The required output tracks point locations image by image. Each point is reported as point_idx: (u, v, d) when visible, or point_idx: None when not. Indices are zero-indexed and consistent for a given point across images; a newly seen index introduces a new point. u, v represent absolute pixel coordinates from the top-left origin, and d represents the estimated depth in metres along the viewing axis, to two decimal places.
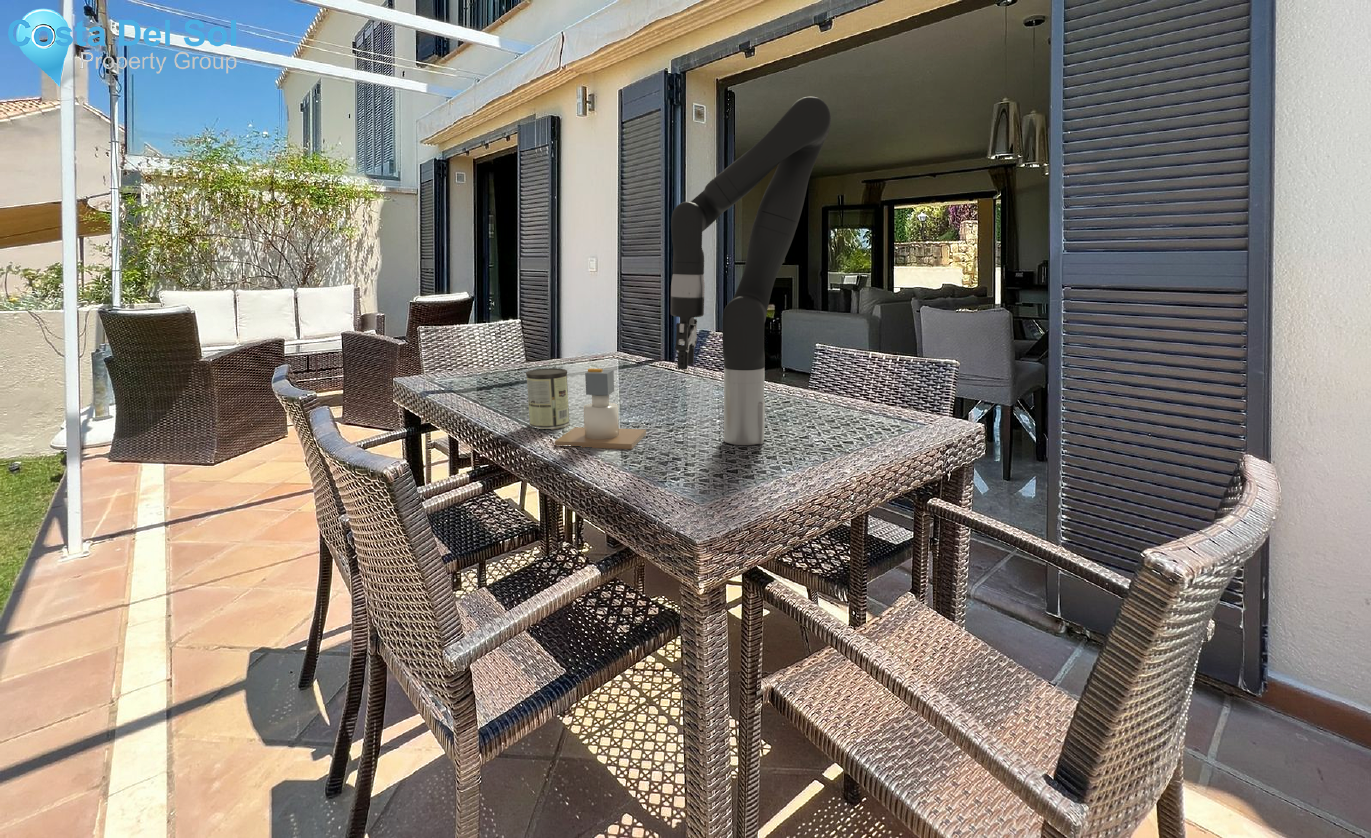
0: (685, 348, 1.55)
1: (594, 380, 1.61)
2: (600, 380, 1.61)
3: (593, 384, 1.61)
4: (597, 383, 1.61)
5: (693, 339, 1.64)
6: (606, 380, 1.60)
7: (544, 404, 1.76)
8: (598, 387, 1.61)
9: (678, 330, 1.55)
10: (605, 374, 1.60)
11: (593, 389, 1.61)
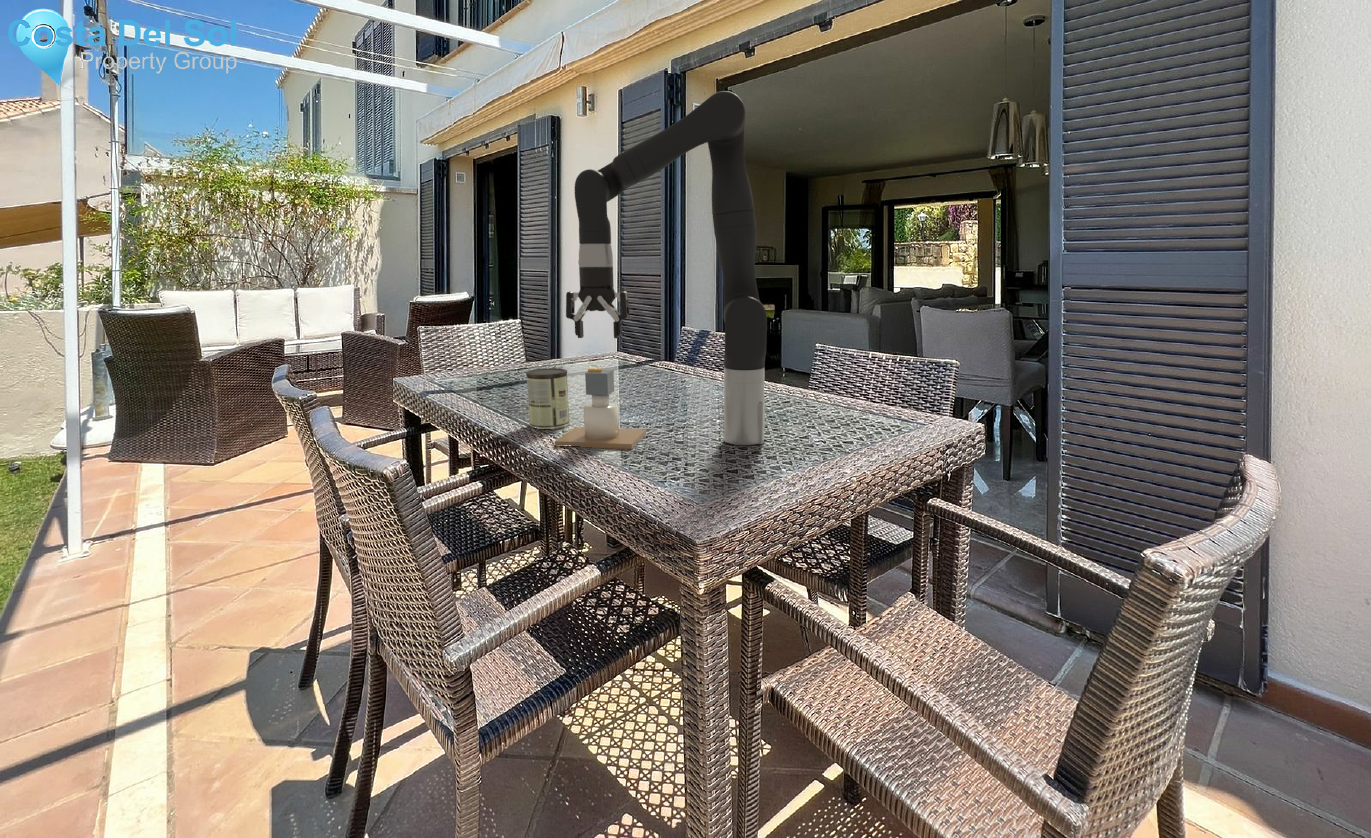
0: (629, 315, 1.60)
1: (594, 380, 1.61)
2: (600, 380, 1.61)
3: (593, 384, 1.61)
4: (597, 383, 1.61)
5: (587, 311, 1.62)
6: (606, 380, 1.60)
7: (544, 404, 1.76)
8: (598, 387, 1.61)
9: (625, 298, 1.57)
10: (605, 374, 1.60)
11: (593, 389, 1.61)
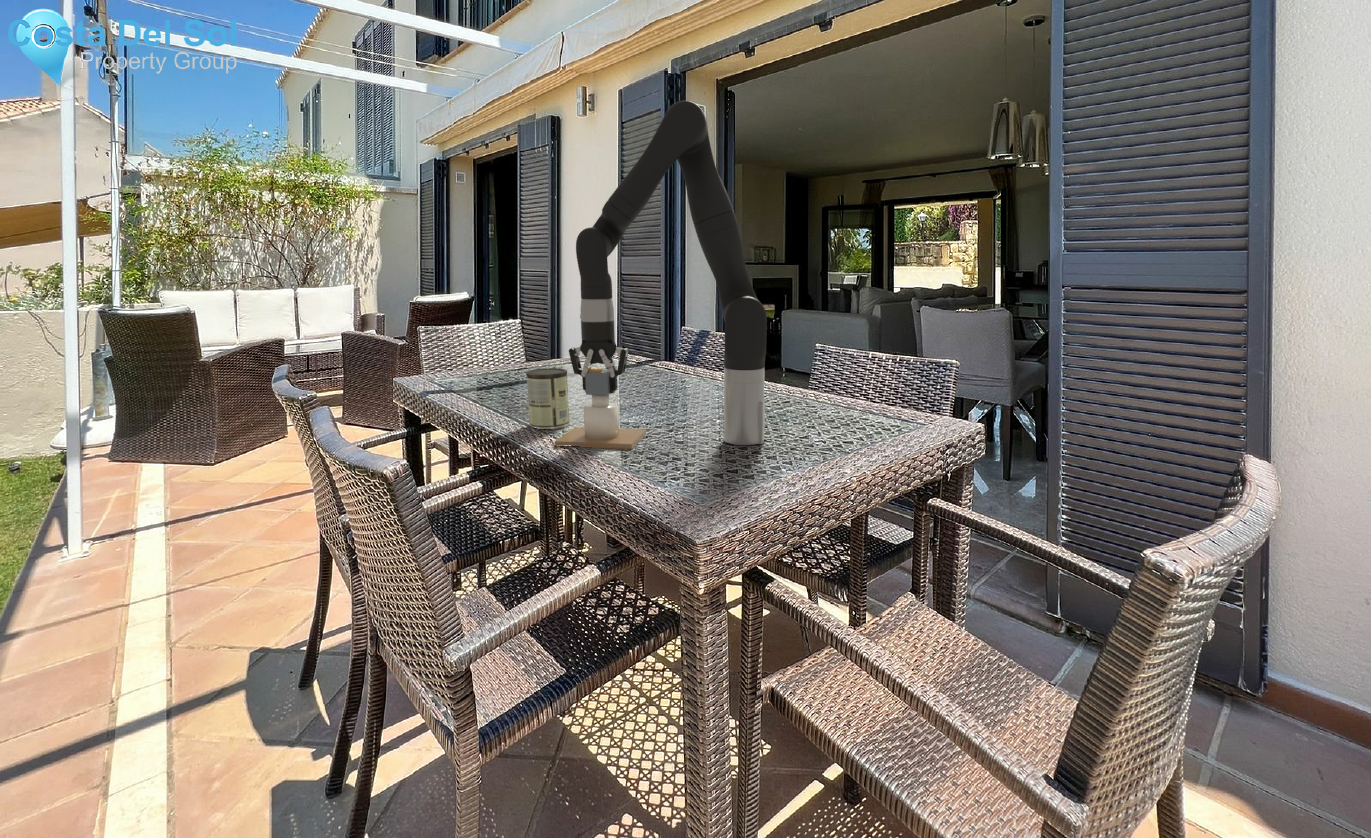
0: (624, 370, 1.63)
1: (594, 380, 1.61)
2: (600, 380, 1.61)
3: (593, 384, 1.61)
4: (597, 383, 1.61)
5: (592, 364, 1.64)
6: (606, 380, 1.60)
7: (544, 404, 1.76)
8: (598, 387, 1.61)
9: (625, 356, 1.60)
10: (605, 374, 1.60)
11: (593, 389, 1.61)
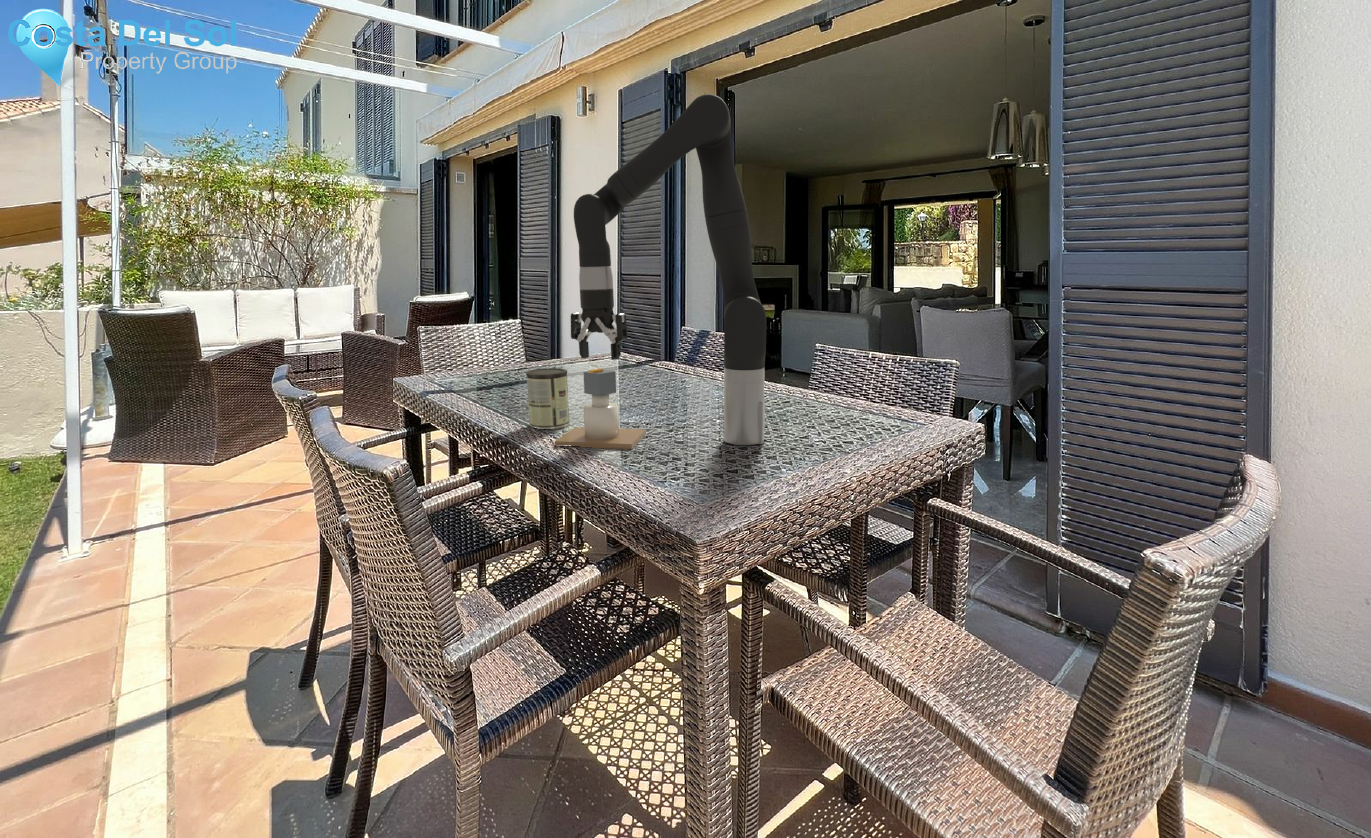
0: (627, 337, 1.60)
1: (605, 380, 1.61)
2: (610, 379, 1.62)
3: (605, 384, 1.61)
4: (608, 382, 1.62)
5: (591, 332, 1.64)
6: (614, 378, 1.63)
7: (544, 404, 1.76)
8: (609, 386, 1.62)
9: (621, 320, 1.58)
10: (614, 372, 1.63)
11: (605, 388, 1.62)
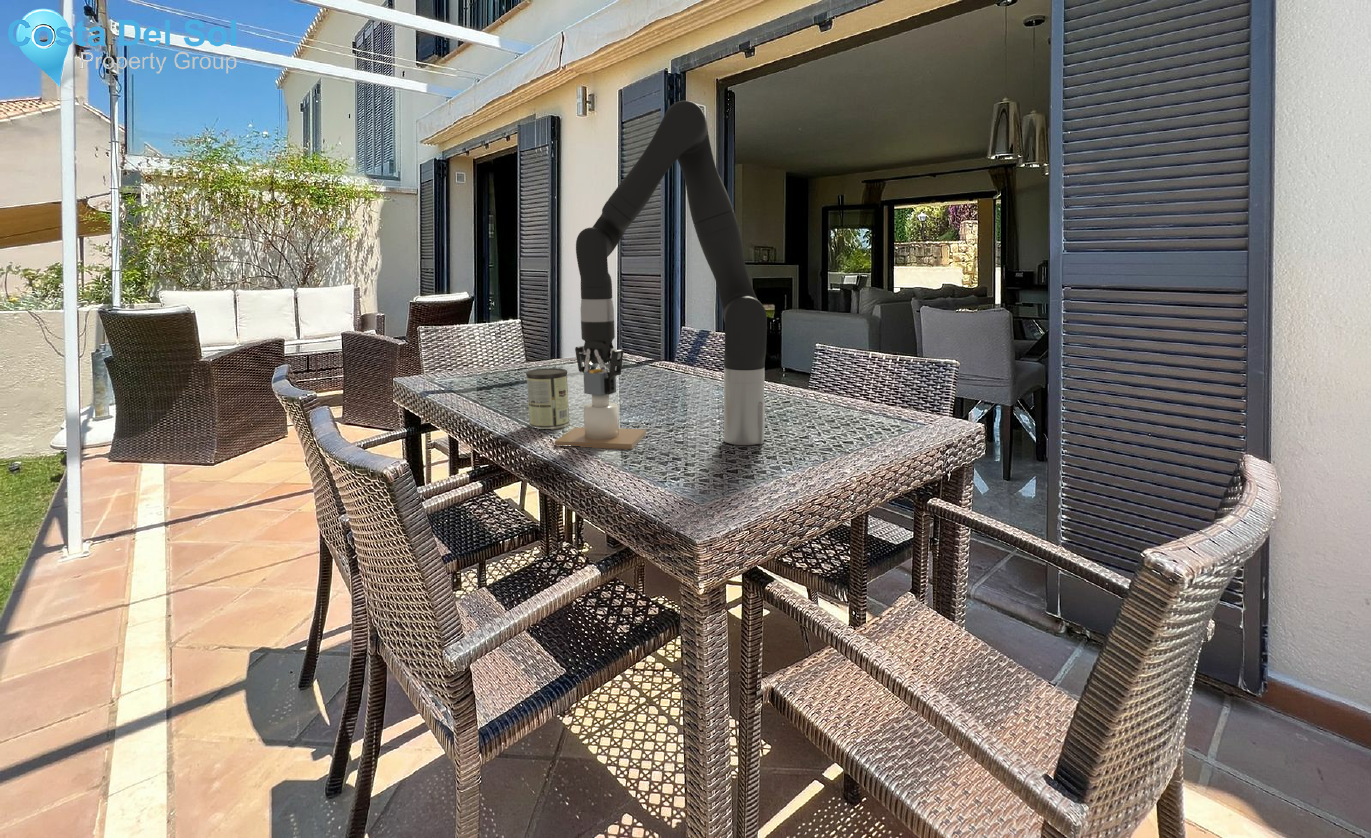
0: (620, 372, 1.60)
1: None
2: None
3: None
4: None
5: (596, 364, 1.65)
6: (614, 377, 1.64)
7: (544, 404, 1.76)
8: None
9: (616, 357, 1.58)
10: None
11: None
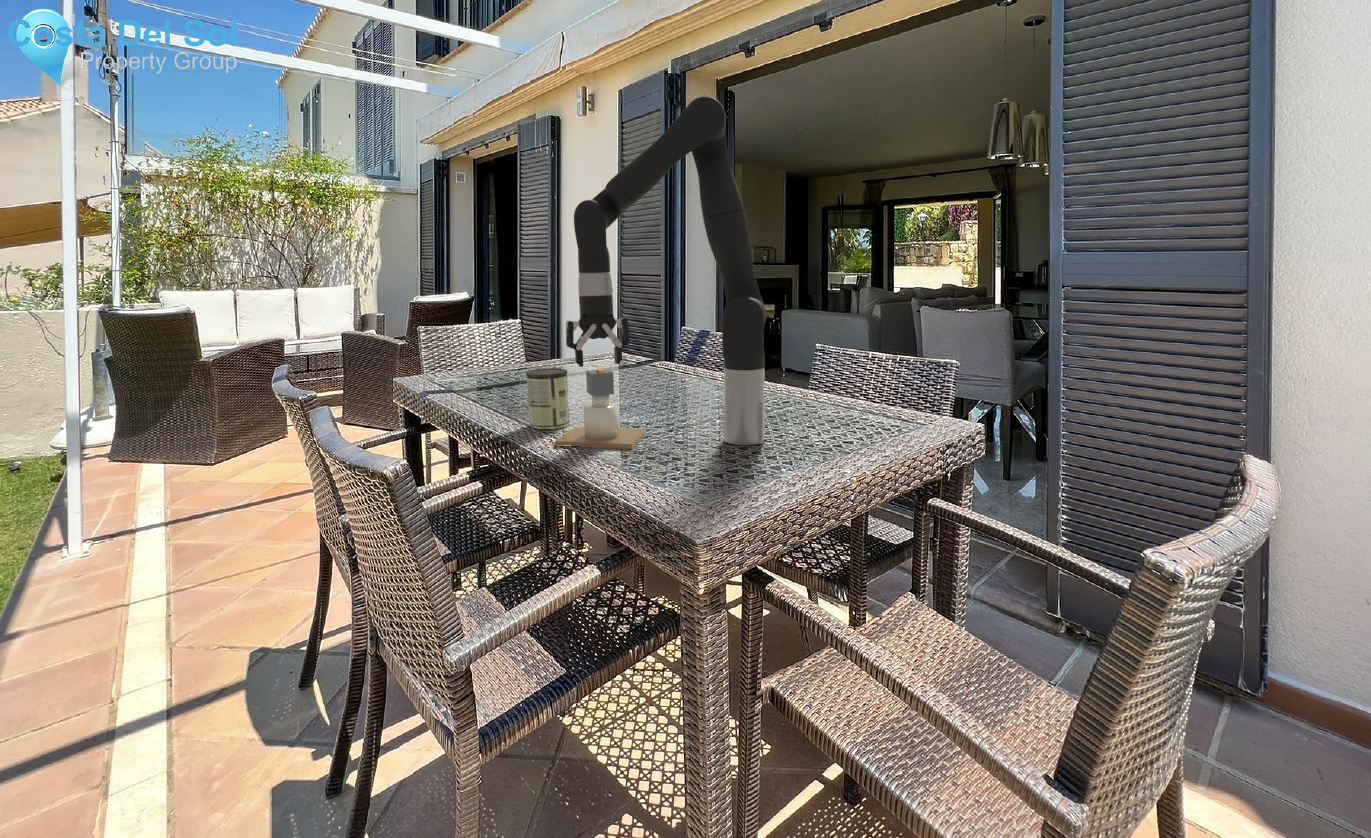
0: None
1: None
2: None
3: None
4: None
5: None
6: None
7: (544, 404, 1.76)
8: None
9: None
10: (608, 370, 1.66)
11: None
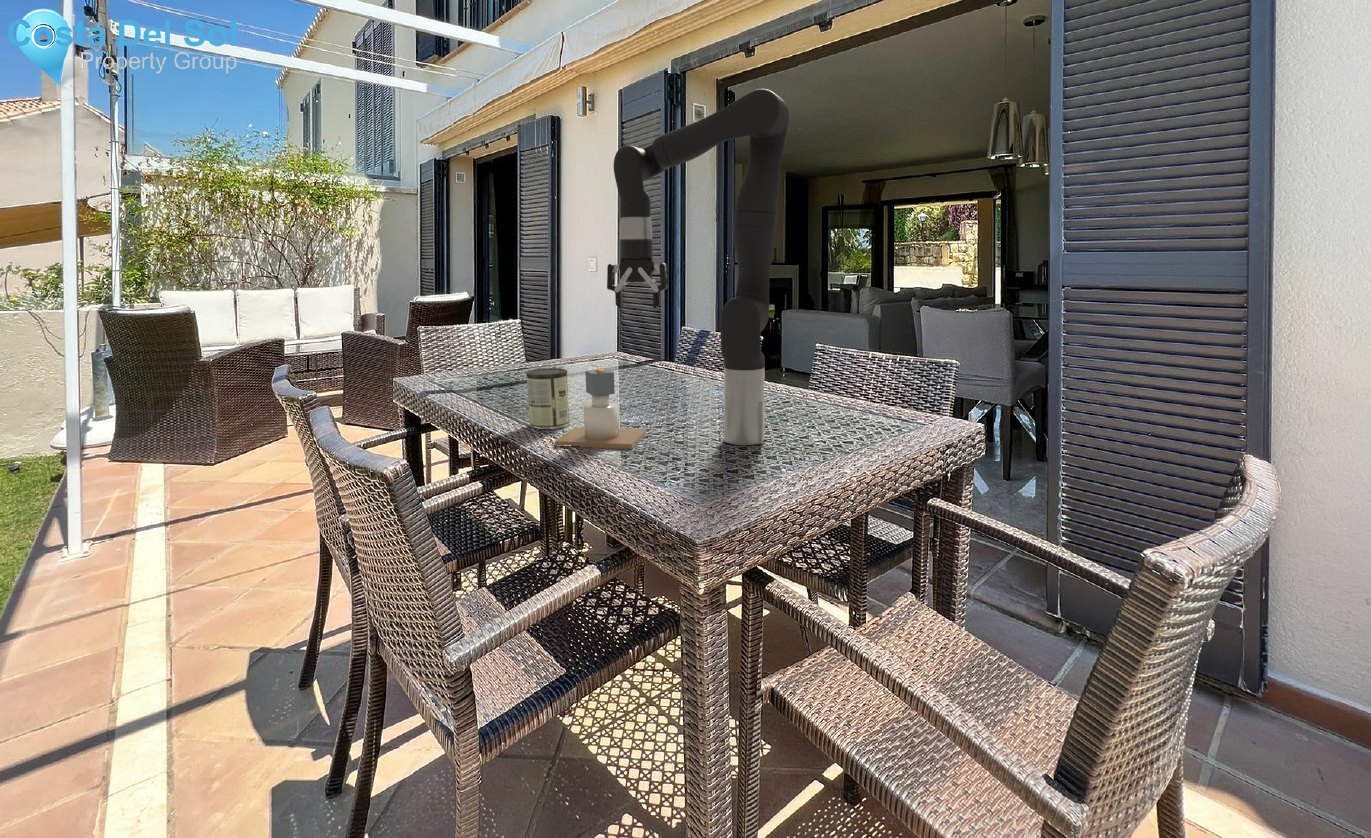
0: (667, 286, 1.67)
1: None
2: None
3: None
4: None
5: (626, 282, 1.69)
6: None
7: (544, 404, 1.76)
8: None
9: None
10: None
11: None
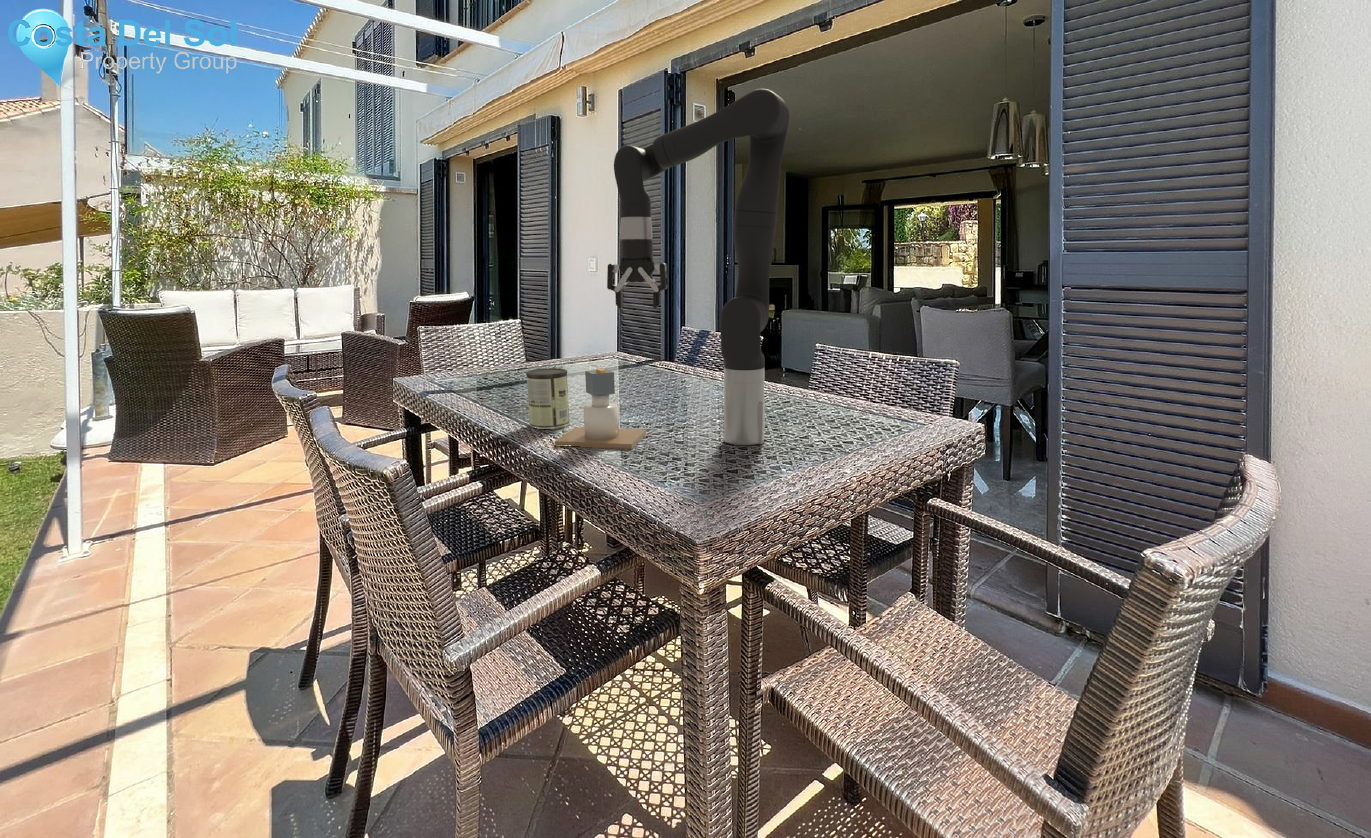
0: (667, 286, 1.67)
1: None
2: None
3: None
4: None
5: (627, 282, 1.69)
6: None
7: (544, 404, 1.76)
8: None
9: None
10: None
11: None
